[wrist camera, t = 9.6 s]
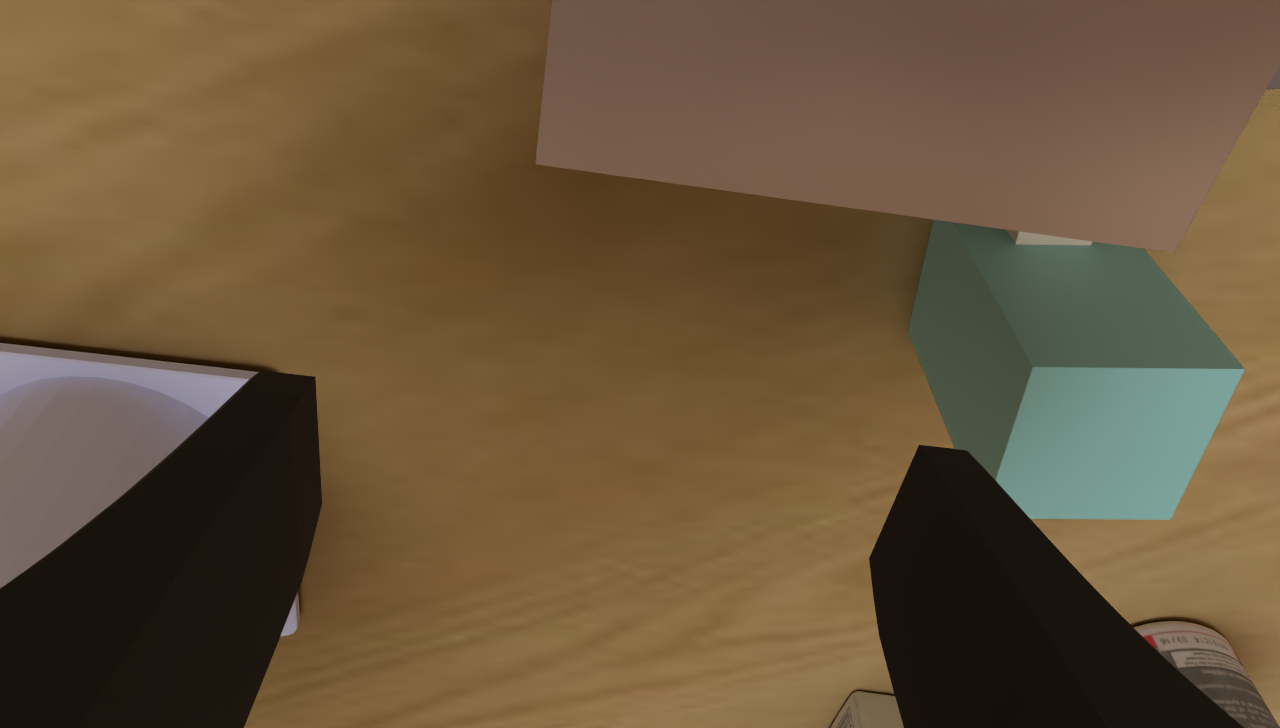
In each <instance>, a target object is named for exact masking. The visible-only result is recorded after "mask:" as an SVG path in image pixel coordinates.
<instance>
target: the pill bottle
mask: <svg viewBox="0 0 1280 728" xmlns="http://www.w3.org/2000/svg"><path fill="white" fill-rule="evenodd" d="M1133 628H1134V629H1135V630H1136V631H1137V632H1138V633H1139V634H1140V635H1141V636H1143V637H1144V638H1145V639H1146V640H1147V641H1148V642H1149V643H1150V644H1151V645H1152V646H1153V647H1154V648H1155V649H1156V650H1157V651H1158V652H1159V653H1160V654H1161V655H1162V656H1163V657H1164V658H1165V659H1166V660H1167V661H1168V662H1170V663H1171V664H1172V665H1173V666H1174V667H1175V668H1176V669H1177V670H1178V671H1179V672H1181V673H1182V674H1183V675H1184V676H1185V677H1186V678H1187V679H1188V680H1189V681H1190V682H1192V683H1193V684H1194V685H1195V686H1196V687H1197V688H1198V689H1200V690H1201V691H1202V692H1203V693H1204V694H1205V695H1207V696H1208V697H1209V698H1210V699H1211V700H1212V701H1214V702H1215V703H1216V704H1217V705H1218V706H1219V707H1221V708H1222V709H1223V710H1224V711H1225V712H1226V713H1228V714H1229V715H1230V716H1231V717H1232V718H1233V719H1235V720H1236V721H1237V722H1238V723H1239V724H1240V725H1242V726H1243V727H1244V728H1280V727H1279V726H1278V724H1277V722H1276V720H1275V719H1274V717H1273V715H1272V714H1271V712H1270V710H1269V709H1268V707H1267V705H1266V704H1265V702H1264V700H1263V699H1262V697H1261V695H1260V694H1259V692H1258V690H1257V689H1256V687H1255V685H1254V684H1253V682H1252V680H1251V679H1250V677H1249V675H1248V674H1247V672H1246V671H1245V669H1244V667H1243V665H1242V664H1241V662H1240V660H1239V659H1238V657H1237V655H1236V653H1235V652H1234V650H1233V648H1232V647H1231V645H1230V644H1229V643H1228V641H1227V640H1226V639H1225V638H1224V637H1223V636H1221V635H1220V634H1219V633H1217V632H1216V631H1214V630H1212V629H1209V628H1207V627H1204V626H1202V625H1198V624H1194V623H1190V622H1182V621H1163V622H1155V623H1149V624H1144V625H1140V626H1136V627H1133Z"/></svg>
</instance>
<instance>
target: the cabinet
mask: <svg viewBox="0 0 1280 728" xmlns="http://www.w3.org/2000/svg"><path fill="white" fill-rule="evenodd" d="M1279 65H1280V0H552V4H551V14H550V24H549V34H548V44H547V53H546V63H545V73H544V83H543V93H542V103H541V113H540V122H539V132H538V142H537V152H536V162H535V164H536V165H543V166H551V167H558V168H565V169H572V170H579V171H587V172H594V173H601V174H608V175H616V176H623V177H630V178H637V179H644V180H652V181H659V182H666V183H673V184H681V185H688V186H695V187H702V188H709V189H717V190H724V191H731V192H738V193H746V194H753V195H760V196H767V197H774V198H782V199H789V200H796V201H803V202H811V203H818V204H825V205H832V206H839V207H847V208H854V209H861V210H868V211H876V212H883V213H890V214H897V215H904V216H912V217H919V218H926V219H933V220H941V221H948V222H955V223H962V224H969V225H977V226H984V227H991V228H998V229H1006V230H1013V231H1020V232H1027V233H1034V234H1042V235H1049V236H1056V237H1063V238H1071V239H1078V240H1085V241H1092V242H1099V243H1107V244H1114V245H1121V246H1128V247H1136V248H1143V249H1150V250H1157V251H1165V252H1172V253H1174V252H1175V251H1176V249H1177V247H1178V245H1179V243H1180V242H1181V240H1182V238H1183V236H1184V235H1185V233H1186V231H1187V229H1188V227H1189V226H1190V224H1191V222H1192V220H1193V218H1194V217H1195V215H1196V213H1197V211H1198V210H1199V208H1200V206H1201V204H1202V202H1203V201H1204V199H1205V197H1206V195H1207V193H1208V192H1209V190H1210V188H1211V186H1212V185H1213V183H1214V181H1215V179H1216V177H1217V176H1218V174H1219V172H1220V170H1221V169H1222V167H1223V165H1224V163H1225V161H1226V160H1227V158H1228V156H1229V154H1230V152H1231V151H1232V149H1233V147H1234V145H1235V144H1236V142H1237V140H1238V138H1239V136H1240V135H1241V133H1242V131H1243V129H1244V127H1245V126H1246V124H1247V122H1248V120H1249V119H1250V117H1251V115H1252V113H1253V111H1254V110H1255V108H1256V106H1257V104H1258V102H1259V101H1260V99H1261V97H1262V95H1263V94H1264V92H1265V90H1266V88H1267V86H1268V85H1269V83H1270V81H1271V79H1272V78H1273V76H1274V74H1275V72H1276V70H1277V69H1278V67H1279Z"/></svg>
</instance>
